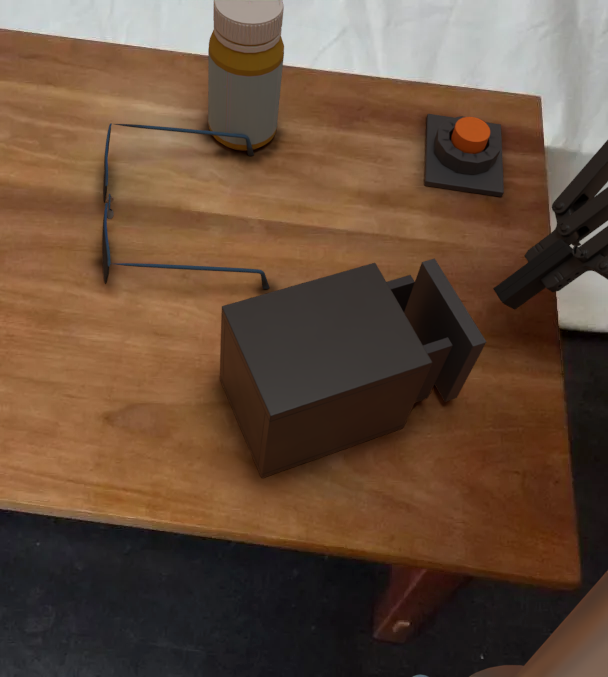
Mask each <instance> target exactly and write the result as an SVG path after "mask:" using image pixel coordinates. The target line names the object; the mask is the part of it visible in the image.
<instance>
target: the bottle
mask: <svg viewBox="0 0 608 677" xmlns="http://www.w3.org/2000/svg"><path fill="white" fill-rule="evenodd" d="M284 8H285V5H284V0H213V14H212V15H213V29H212V32H211V35H210V37H209V39H208V41H209V42H208V51H207V52H208V56H207V57H208V58H207V59H208V62H207V68H208V70H207V71H208V72H207V84H208V85H207V122H208V124H207V125H208V129H209V131H215V132H225V133H235V134H243V135H246V136H248V137H249V139H250V142H251V145H252V149H253V151H254V150H257V149H259V148H261V147H263V146H266V145H267V144H268V143H270V142H271V141H272V140H273V139H274V136H275V135H276V133H277V127H278V119H279V110H280V109H279V108H280V101H281V100H280V97H281V87H282V79H283V66H284V56H285V44H284V41H283V38H282V27H283V20H284ZM212 137H213V138H214V139H215V140H216V141H217V142H218V143H221V144H222V145H223V146H225V147H226V148H229V149H232V150H235V151H241V152H242V151H245V152H247V144H246V139H244V138H237V137H227V136H216V135H212Z"/></svg>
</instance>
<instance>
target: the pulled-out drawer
mask: <svg viewBox="0 0 608 677" xmlns="http://www.w3.org/2000/svg"><path fill="white" fill-rule="evenodd" d="M386 282H387V284H388V286H389V287H390V289H391V291H392V293H393V294H394V296H395V298H396V300H397V301H398V303H399V305H400V307H401V308H402V310H403V312H404V314H405V315H406V317H407V319H408V320H409V322H410V324H411V326H412V327H413V329H414V331H415V333H416V334H417V336H418V338H419V340H420V341H421V343H422V345H423V347H424V348H425V350H426V352H427V354H428V355H429V357H430V359H431V361H432V365H431V367H430V369H429V372H428V374H427V376H426V378H425V380H424V383H423V385H422V387H421V389H420V392H419V394H418V396H417V398H416V401H415V403H418V402H421V401H423V400H427V399H428V398H429V396H430V394H431V392H432V390H433V388H434V386H435V387H436V389H437V391H438V393H439V394H440V396H441V398H442V400H443V402H444V403H446V402H450V401H452V400H456V399H457V398H458V397H459V395H460V393H461V391H462V389H463V387H464V386H465V383H466V382H467V380H468V379H469V378H468V377H469V376H470V374H471V372H472V370H473V369H474V366H475V365H476V363H477V361H478V359H479V357H480V356H481V354H482V351H483V349H484V348H485V346H486V344H487V339H486V338H485V337H484V335H483V334H482V332H481V330H480V329H479V327H478V326H477V324H476V323H475V321H474V319H473V318H472V316H471V315H470V313H469V311H468V310H467V308H466V306H465V305H464V303H463V302H462V300H461V298H460V297H459V295H458V294H457V292H456V290H455V288H454V287H453V285H452V284H451V282H450V280H449V279H448V278H447V276H446V274H445V272H444V271H443V269H442V268H441V266H440V264H439V263H438V261H437V259H436V258H431V259H428V260H424V261H422V262H421V264H420V266H419V269H418V272H417V275H416V277H415V280H414V277H413V276H412V274H408V275H405V276H401V277H397V278H395V279H391V280H388V281H387V280H386Z"/></svg>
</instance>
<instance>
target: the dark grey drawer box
mask: <svg viewBox="0 0 608 677" xmlns="http://www.w3.org/2000/svg"><path fill="white" fill-rule="evenodd" d="M220 315H221V316H220V322H221V323H220V347H219V348H220V352H219V381H220V383H221V385H222V388H223V391H224V392H225V395H226V397H227V399H228V402H229V405H230V407H231V409H232V412H233V414H234V416H235V419H236V421H237V423H238V426H239V428H240V431H241V433H242V435H243V437H244V440H245V443H246V445H247V448H248V449H249V452H250V455H251V456H252V459H253V461H254V464H255V466H256V469H257V471H258V473H259V476H260V478H261V479H264V478H266V477H267V478H268V477H269V476H272V475H275V474H278V473H281V472H283V471H287V470H289V469H292V468H295V467H297V466H300V465H303V464H307V463H309V462H311V461H315V460H316V459H320V458H322V457H327V456H328V455H329V456H330V455H331V454H334V453H337V452H341V451H342V450H346V449H348V448H352V447H355V446H356V445H360V444H363V443H365V442H368V441H370V440H373V439H377V438H379V437H382V436H385V435H387V434H391V433H393V432H396V431H400V430H402V429H404V427H405V425H406V422H407V421H408V419H409V417H410V414H411V412H412V409H413V407H414V405H415V403H416V402H415V401H416V398H417V396H418V394H419V392H420V389H421V387H422V385H423V383H424V380H425V378H426V376H427V374H428V372H429V369H430V367H431V365H432V361H431V359H430V357H429V355H428V354H427V352H426V350H425V348H424V347H423V345H422V343H421V341H420V340H419V338H418V336H417V334H416V333H415V331H414V329H413V327H412V326H411V324H410V322H409V320H408V319H407V317H406V315H405V314H404V312H403V310H402V308H401V307H400V305H399V303H398V301H397V300H396V298H395V296H394V294H393V293H392V291H391V289H390V287H389V286H388V284H387V280H386V279H385V277H384V275H383V273H382V272H381V270H380V268H379V265H378V264H377V263H376V262H371V263H368V264H364V265H362V266H357V267H354V268H351V269H347V270H344V271H340V272H337V273H333V274H330V275H327V276H323V277H320V278H316V279H312V280H309V281H304V282H302V283H299V284H294V285H291V286H288V287H285V288H280V289H277V290H274V291H271V292H267V293H262V294H260V295H256V296H253V297H249V298H245V299H242V300H238V301H235V302H231V303H228V304H225V305H224V304H223V305H222V306H221V313H220Z"/></svg>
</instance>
